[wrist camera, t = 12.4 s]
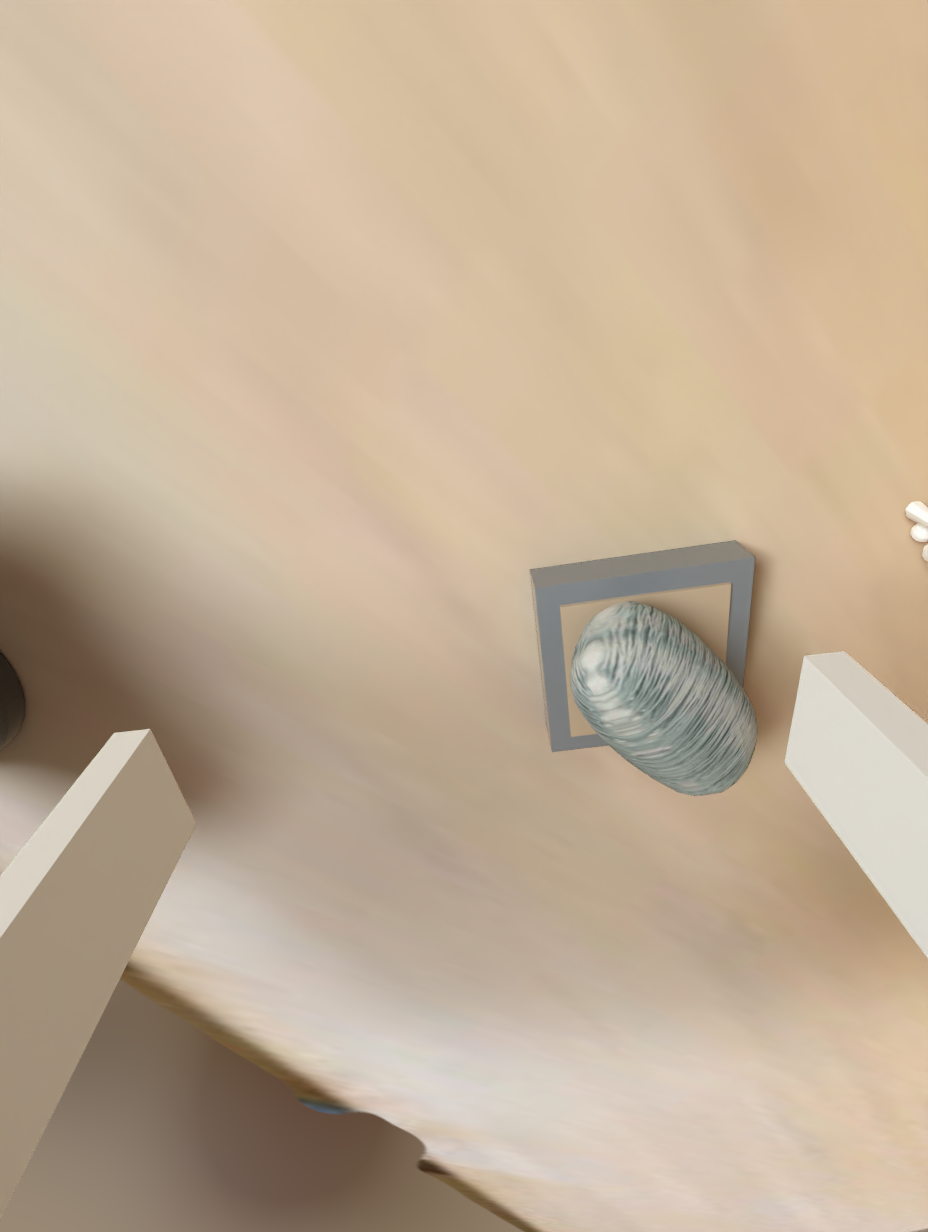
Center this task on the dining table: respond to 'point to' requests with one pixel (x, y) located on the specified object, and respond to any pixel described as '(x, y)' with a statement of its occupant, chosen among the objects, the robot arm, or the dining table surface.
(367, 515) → the dining table surface
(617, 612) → the grey streaked ellipsoid
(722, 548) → the stand
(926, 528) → the figurine
